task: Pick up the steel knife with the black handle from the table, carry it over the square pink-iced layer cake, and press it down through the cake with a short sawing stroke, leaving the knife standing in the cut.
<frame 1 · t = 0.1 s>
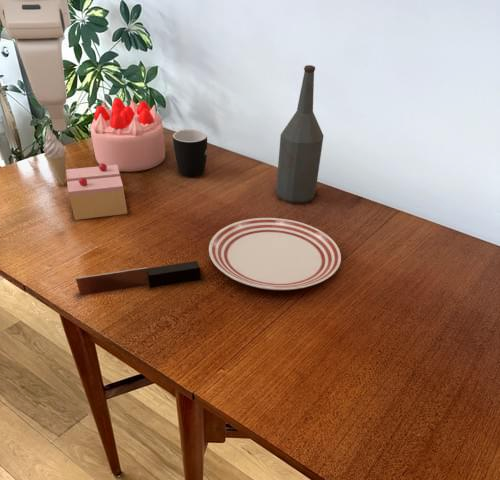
hand: (59, 118, 71), 30 cm above the table, tool pointing down, fingers open, 8 cm apart
knife: (149, 284, 91), on the table
cake 2: (130, 159, 134), on the table
ice cream cone: (63, 185, 120), on the table
dinner plate: (273, 262, 98), on the table
cake: (99, 204, 113), on the table
mug: (190, 171, 129), on the table
bottle: (295, 195, 121), on the table
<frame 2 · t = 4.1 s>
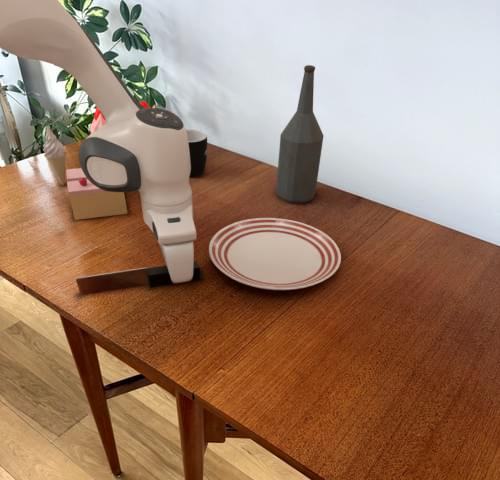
hand: (173, 273, 91), 2 cm above the table, tool pointing down, fingers closed on knife, 2 cm apart
knife: (149, 284, 91), on the table, touching gripper
everything else where it was.
when the fingers open (2 cm above the table, at t = 12.2 s): knife stays where it is, on the table.
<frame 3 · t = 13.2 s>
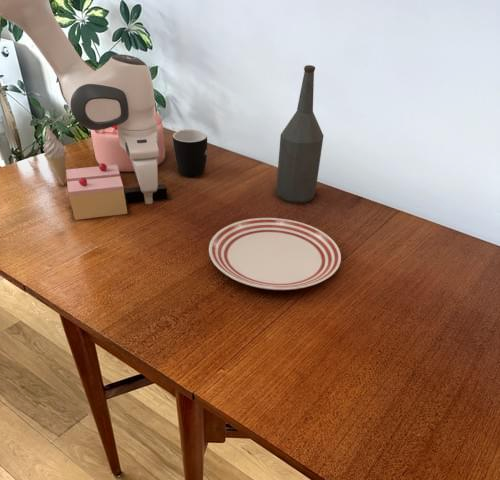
hand: (145, 193, 115), 2 cm above the table, tool pointing down, fingers open, 8 cm apart
knife: (126, 201, 115), on the table
everything else where it was.
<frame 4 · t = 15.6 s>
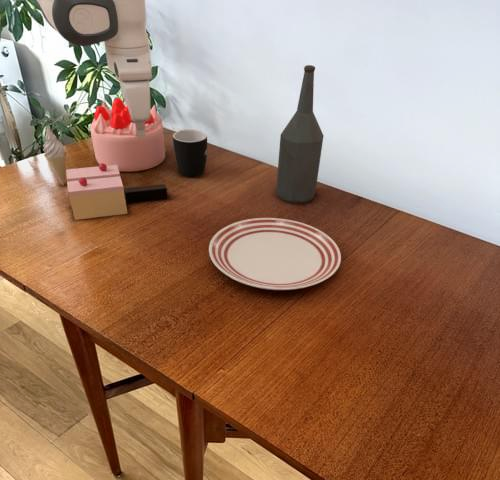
hand: (137, 129, 104), 17 cm above the table, tool pointing down, fingers open, 8 cm apart
nothing on the table moved.
at the end: knife 0.1 cm from the target spot on the cake, point 0.0 cm above the cake's base; knife tilted 0°; the gripper is holding nothing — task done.
